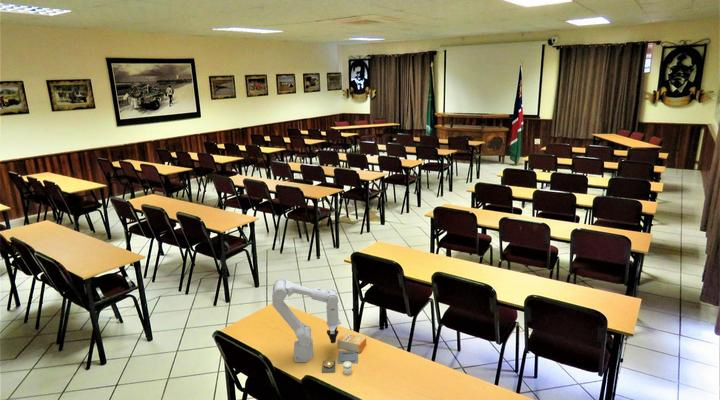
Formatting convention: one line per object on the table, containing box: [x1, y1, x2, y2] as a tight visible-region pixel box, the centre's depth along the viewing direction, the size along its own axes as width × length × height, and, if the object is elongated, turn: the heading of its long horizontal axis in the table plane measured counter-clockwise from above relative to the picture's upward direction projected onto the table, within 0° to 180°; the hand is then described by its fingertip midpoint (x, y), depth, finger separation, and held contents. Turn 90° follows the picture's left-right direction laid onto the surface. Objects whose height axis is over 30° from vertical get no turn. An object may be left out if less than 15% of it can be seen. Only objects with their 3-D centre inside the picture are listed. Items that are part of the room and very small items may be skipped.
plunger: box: [322, 358, 334, 367], centre depth 205 cm, size 5×5×4 cm
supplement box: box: [336, 332, 367, 354], centre depth 221 cm, size 8×5×13 cm
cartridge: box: [342, 361, 353, 376], centre depth 202 cm, size 4×4×5 cm
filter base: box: [337, 350, 359, 365], centre depth 213 cm, size 10×10×2 cm
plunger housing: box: [321, 360, 336, 374], centre depth 205 cm, size 6×6×3 cm
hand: (333, 338), depth 214 cm, fingers open, 7 cm apart
